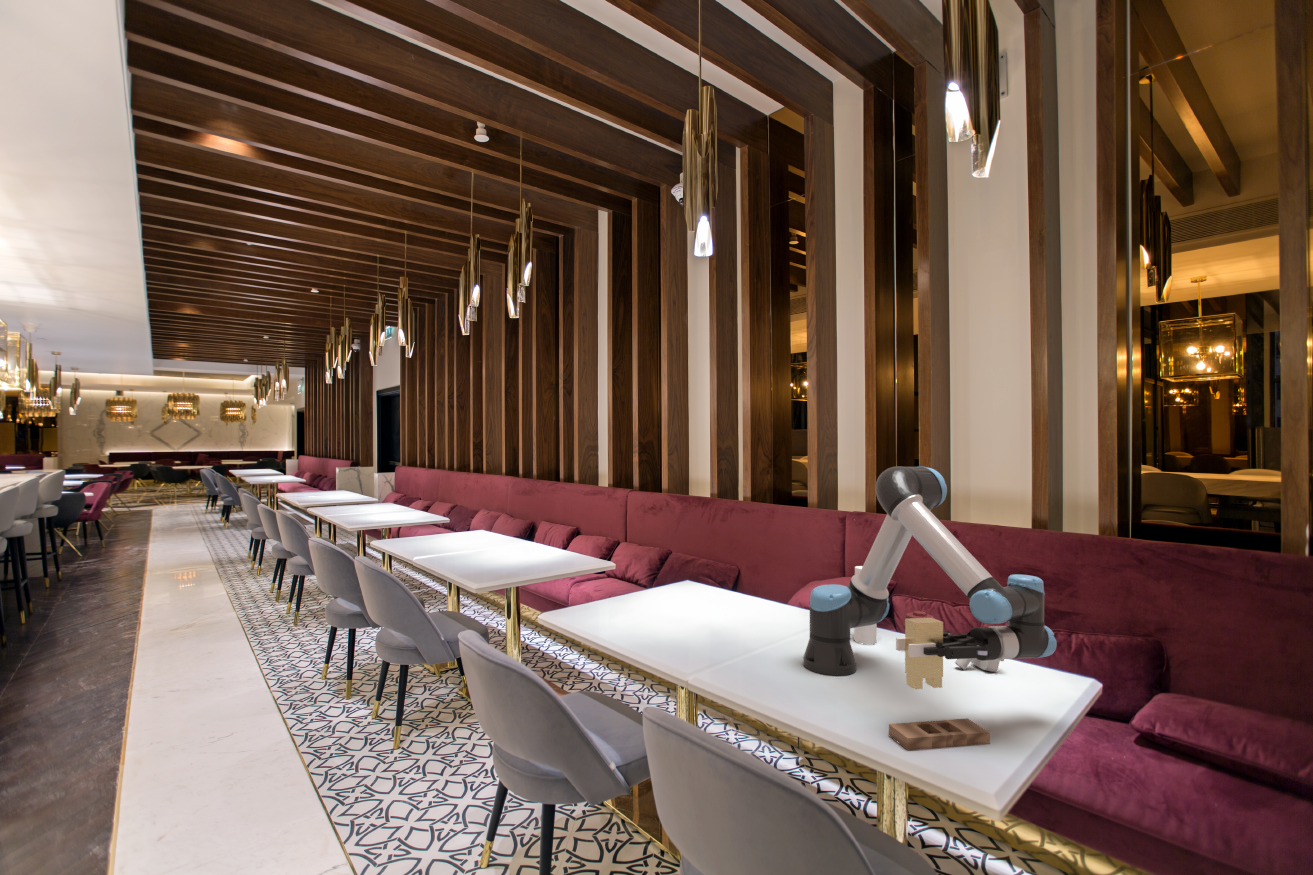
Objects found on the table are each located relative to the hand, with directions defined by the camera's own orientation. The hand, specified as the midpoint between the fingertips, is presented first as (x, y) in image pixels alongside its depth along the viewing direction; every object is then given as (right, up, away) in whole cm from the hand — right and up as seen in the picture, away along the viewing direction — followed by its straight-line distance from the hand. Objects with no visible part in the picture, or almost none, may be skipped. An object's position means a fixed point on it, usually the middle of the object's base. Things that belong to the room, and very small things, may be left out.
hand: (903, 647), depth 139 cm
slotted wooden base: (+6, -18, -6) cm, 20 cm away
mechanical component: (+29, -21, +58) cm, 69 cm away
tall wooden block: (+5, -9, +1) cm, 10 cm away
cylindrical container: (+14, -21, +67) cm, 71 cm away
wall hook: (+38, -21, +41) cm, 60 cm away
